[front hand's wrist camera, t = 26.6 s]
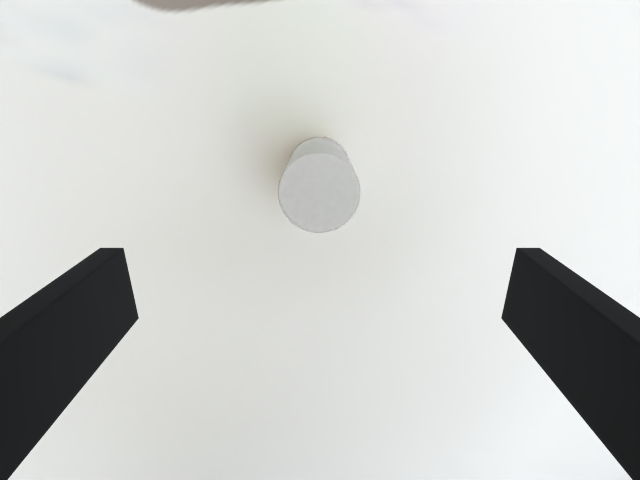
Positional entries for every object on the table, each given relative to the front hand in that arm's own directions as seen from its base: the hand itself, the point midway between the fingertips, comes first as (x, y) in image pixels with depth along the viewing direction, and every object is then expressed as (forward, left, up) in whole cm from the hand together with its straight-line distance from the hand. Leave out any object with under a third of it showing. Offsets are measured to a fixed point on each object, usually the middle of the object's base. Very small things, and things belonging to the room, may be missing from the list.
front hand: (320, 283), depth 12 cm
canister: (0, 0, -21) cm, 21 cm away
